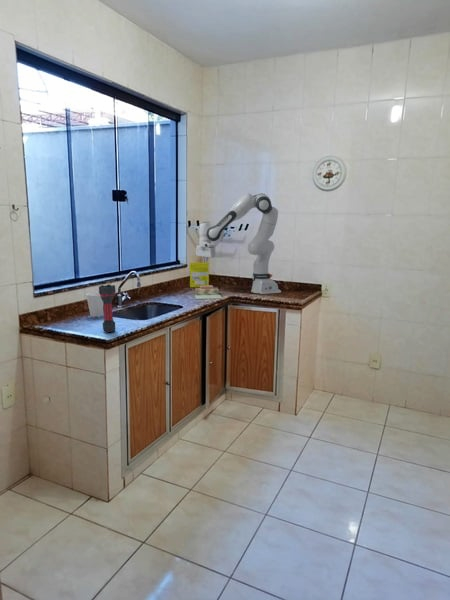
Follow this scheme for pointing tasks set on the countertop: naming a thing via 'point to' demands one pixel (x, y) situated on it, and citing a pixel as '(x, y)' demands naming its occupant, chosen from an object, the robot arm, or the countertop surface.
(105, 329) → the flashlight
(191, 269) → the food package
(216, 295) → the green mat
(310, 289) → the countertop surface
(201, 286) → the terracotta tile
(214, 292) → the birch deck
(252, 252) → the robot arm
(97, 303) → the foam cup
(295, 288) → the countertop surface
